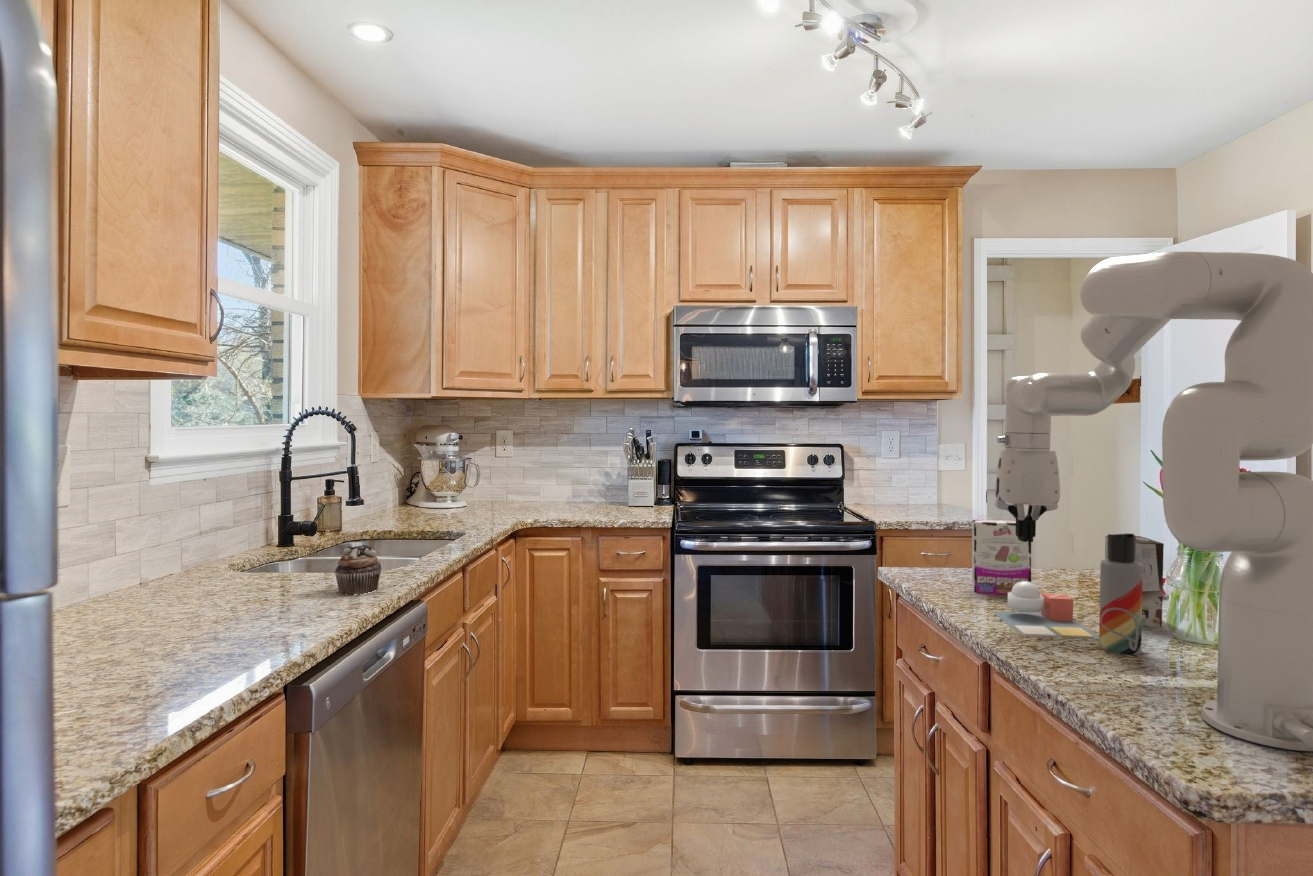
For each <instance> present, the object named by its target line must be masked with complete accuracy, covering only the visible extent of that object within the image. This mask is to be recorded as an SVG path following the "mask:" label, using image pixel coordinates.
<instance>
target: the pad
mask: <svg viewBox="0 0 1313 876" xmlns="http://www.w3.org/2000/svg"><path fill="white" fill-rule="evenodd" d="M1050 629H1052V630H1053V631H1055V632H1056V633H1057V634H1059V635H1060V636H1062V637H1078V638H1094V636H1093V635H1091V634H1089V633H1088V632H1086V631H1085V630H1083V629H1082V628H1072V627H1050Z"/></svg>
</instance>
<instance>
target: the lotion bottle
mask: <svg viewBox="0 0 1313 876" xmlns="http://www.w3.org/2000/svg"><path fill="white" fill-rule="evenodd" d="M1107 536H1108V550H1107V559H1108V560H1105V559H1103V560H1101V561H1100V567H1099V570H1100V572H1099V575H1100V576H1099V577H1100V578H1099V619H1098V620H1099V627H1098V628H1099V629H1098V630H1099V631H1098V632H1099V633H1098V635H1099V639H1098V647H1099V649H1102V650H1104V651H1106V652H1108V653H1113V654H1119V655H1123V656H1124V655H1126V656H1127V655H1129V656H1134V655H1135V656H1136V655H1140V654H1141V653H1142V635H1143V634H1142V631H1143V630H1142V627H1143V626H1142V581H1143V567H1142V564H1140V563H1137V562H1135V561H1136V536H1137V535H1136V534H1134V533H1127V532H1126V533H1125V532H1124V533H1115V534H1113V533H1112V534H1110V533H1109V534H1107Z"/></svg>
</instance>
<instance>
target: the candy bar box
mask: <svg viewBox="0 0 1313 876" xmlns="http://www.w3.org/2000/svg"><path fill="white" fill-rule="evenodd" d="M1021 581H1028V582H1031V583H1032V542H1028V541H1027V542H1022V541H1020V540H1018V537H1017V536H1016V520H1006V519H1005V520H1003V519H1002V520H1001V519H999V520H998V519H972V520H971V590H972V592H973V593H976V594H977V593H978V594H988V595H989V594H991V595H1007V596H1008V593H1009V592H1011V591H1012V588H1013V586H1014V585H1015V584H1016V583H1018V582H1021Z"/></svg>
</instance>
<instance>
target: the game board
mask: <svg viewBox="0 0 1313 876" xmlns="http://www.w3.org/2000/svg"><path fill="white" fill-rule="evenodd" d="M1040 595H1042V596H1044V610H1043V611H1042V612H1023V611H997V610H996V611H991V613H993V614H994V615H996V616H997V617H998V618H999V619H1000V620H1002V622H1005V624H1007V626H1009V627H1010V628H1012V630H1013V631H1015V632H1016V633H1018V634H1019V635H1020V636H1021V637H1029V638H1030V637H1031V638H1051V639H1053V638H1054V639H1055V638H1056V639H1074V640H1075V639H1076V640H1077V639H1078V640H1079V639H1080V640H1082V639H1083V640H1099V634H1097V633H1095V632H1094V631H1092V630H1090V629H1089V628H1087V627H1086V626H1085V625H1083V624H1082V623H1079V622H1078V621H1076V620H1075V619H1074V599H1073V598H1072V597H1070V596H1068V595H1067V594H1064V593H1048V592H1047V593H1045V592H1044V593H1042V592H1040ZM1050 627H1072V628H1082V629H1083V630H1085V631H1086V632H1088V633H1089V634H1091V635H1093V636H1094V638H1078V637H1062V636H1060V635H1059V634H1057V633H1056V632H1055V631H1053V630H1052V629H1050Z"/></svg>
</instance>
